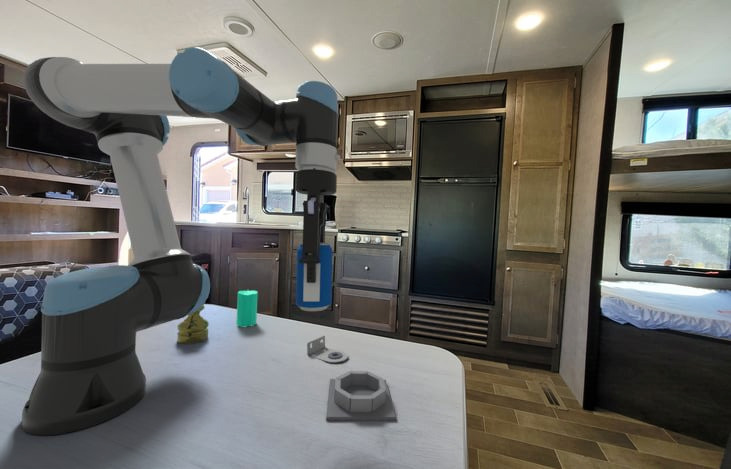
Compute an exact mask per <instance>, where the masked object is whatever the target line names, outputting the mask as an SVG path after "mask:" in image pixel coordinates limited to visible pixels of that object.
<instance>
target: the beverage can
mask: <svg viewBox="0 0 731 469" xmlns="http://www.w3.org/2000/svg"><path fill="white" fill-rule="evenodd" d="M302 247H303V242H299V246H298V248H296V283H295V284H296V287H295V288H296V291H295V292H296V293H295V296H296V297H295V305H296V306H297V307H298V308H300V310H301V311H304V312H305V311H306V312H320V311H324V310H327V309H328V307H329V306H331V304H332V290H333V283H332V282H333V248H332V247H331V243H330V242H325V243H320V253H319V259H320V262H319V263H320V301H303V291H304V263H299V259H302Z"/></svg>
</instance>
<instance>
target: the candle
mask: <svg viewBox="0 0 731 469" xmlns="http://www.w3.org/2000/svg"><path fill="white" fill-rule="evenodd" d="M258 294H259V291H257V290H239V291H237V300H236V301H237V303H236V304H237V305H236V322H235V323H236V324H237V325H238V326H237V325H236V326H237V327H239V326H250V327H252V326H251V325H253V326H255V325H256V324H257V317H258V298H259V297H258V296H259V295H258ZM255 323H256V324H255ZM254 324H255V325H254Z"/></svg>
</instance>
